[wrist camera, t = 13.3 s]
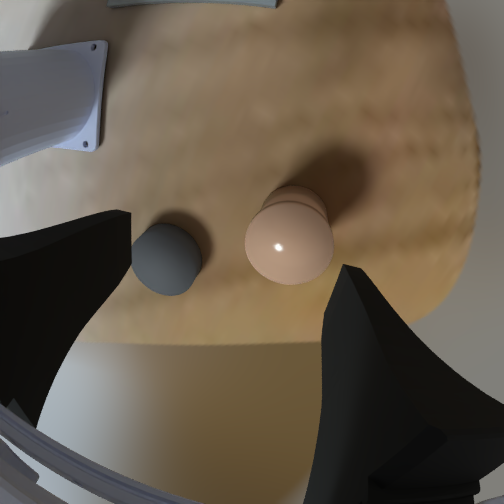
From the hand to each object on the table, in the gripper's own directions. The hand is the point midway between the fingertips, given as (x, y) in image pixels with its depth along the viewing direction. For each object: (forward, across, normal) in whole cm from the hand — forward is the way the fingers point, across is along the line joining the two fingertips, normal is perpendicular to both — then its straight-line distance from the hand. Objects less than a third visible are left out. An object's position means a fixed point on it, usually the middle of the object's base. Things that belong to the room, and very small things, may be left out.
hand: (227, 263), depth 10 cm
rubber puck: (+10, +6, +7) cm, 14 cm away
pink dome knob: (+10, -2, +2) cm, 10 cm away
